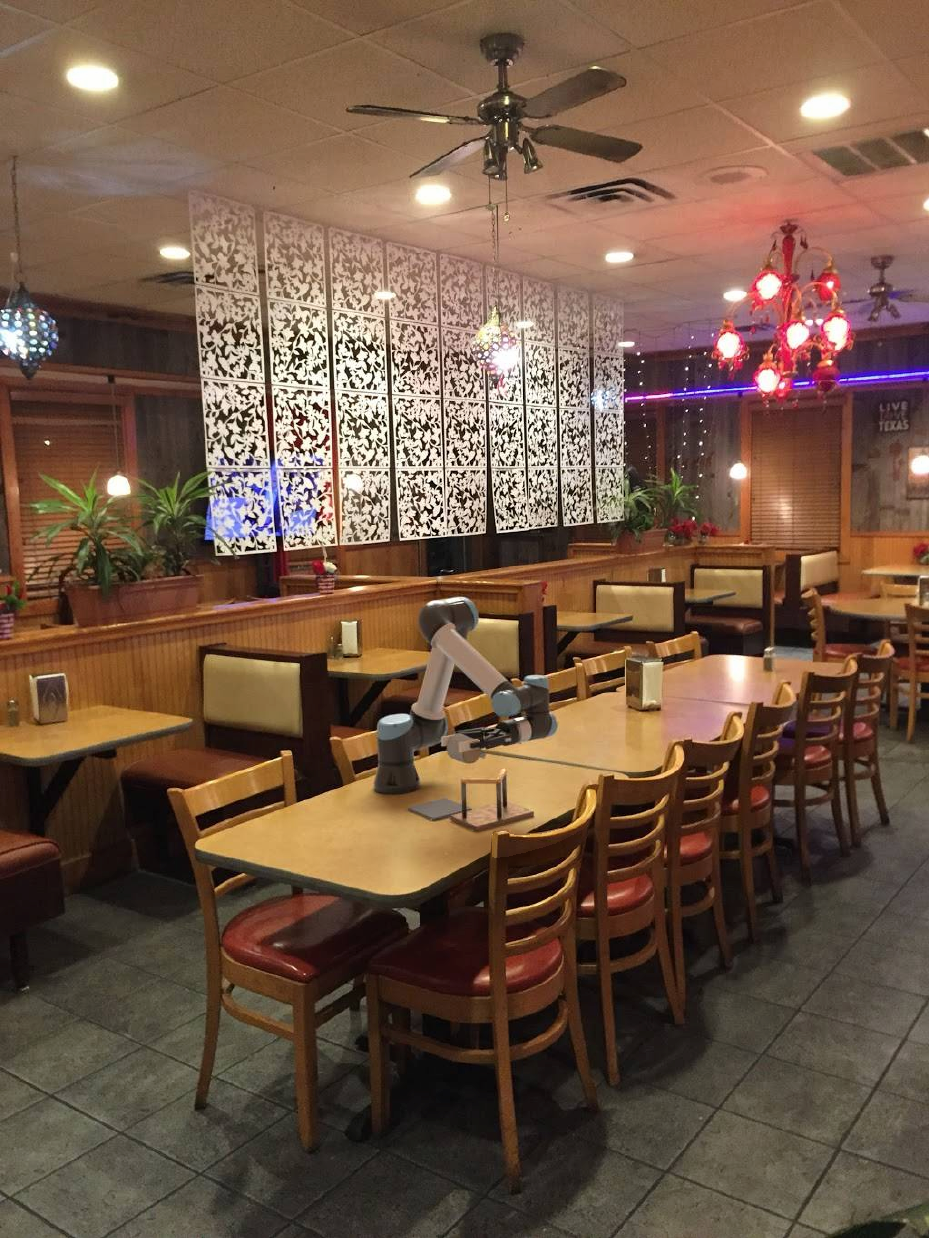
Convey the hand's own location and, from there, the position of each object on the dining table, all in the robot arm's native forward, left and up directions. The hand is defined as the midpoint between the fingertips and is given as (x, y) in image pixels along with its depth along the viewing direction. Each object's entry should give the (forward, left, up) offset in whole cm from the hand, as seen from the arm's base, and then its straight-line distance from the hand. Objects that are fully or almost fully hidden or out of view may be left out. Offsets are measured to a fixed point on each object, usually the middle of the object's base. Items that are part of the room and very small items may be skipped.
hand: (450, 744), depth 285 cm
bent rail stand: (+3, +12, -24) cm, 27 cm away
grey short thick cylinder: (-1, +6, -6) cm, 9 cm away
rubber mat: (-13, +4, -24) cm, 28 cm away
